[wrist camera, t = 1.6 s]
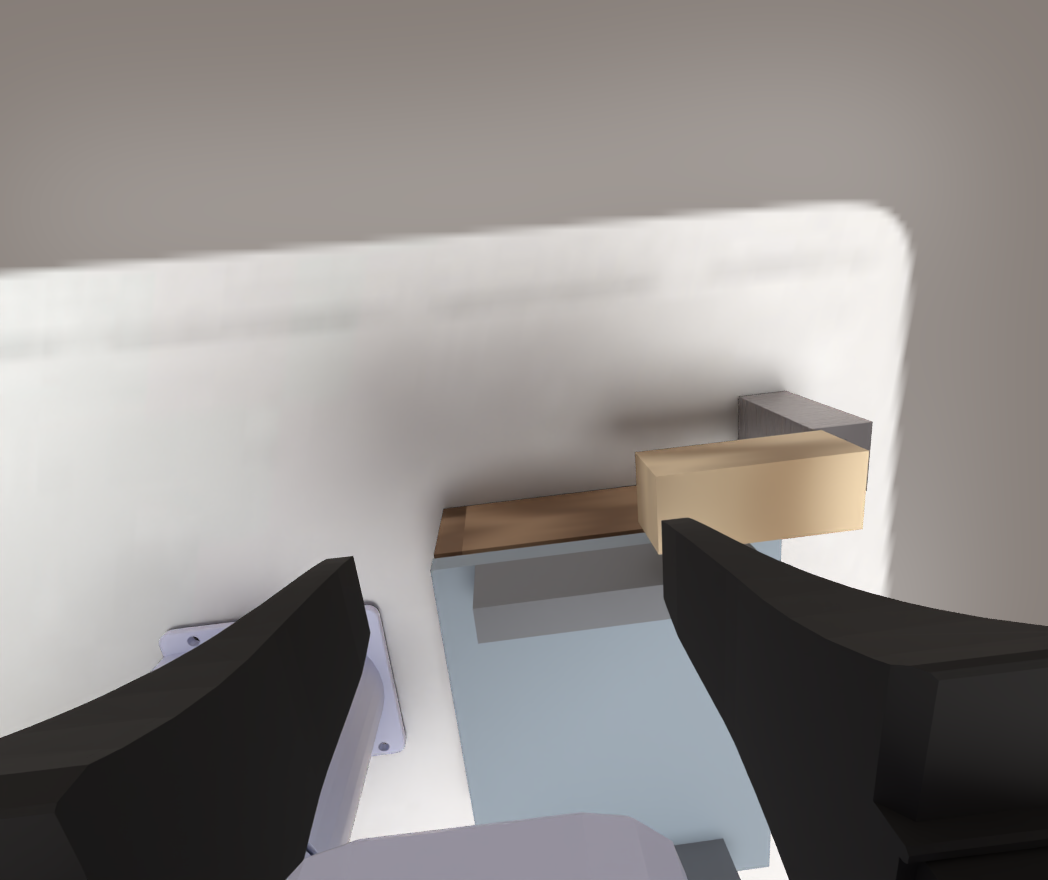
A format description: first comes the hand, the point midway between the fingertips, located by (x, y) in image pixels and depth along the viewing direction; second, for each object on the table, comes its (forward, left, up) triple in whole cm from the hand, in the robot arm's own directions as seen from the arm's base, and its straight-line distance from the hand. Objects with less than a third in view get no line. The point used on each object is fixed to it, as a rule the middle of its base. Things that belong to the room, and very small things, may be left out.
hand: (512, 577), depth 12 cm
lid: (+3, -11, -6) cm, 13 cm away
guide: (+11, 0, -10) cm, 15 cm away
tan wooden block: (+7, 0, -5) cm, 9 cm away
